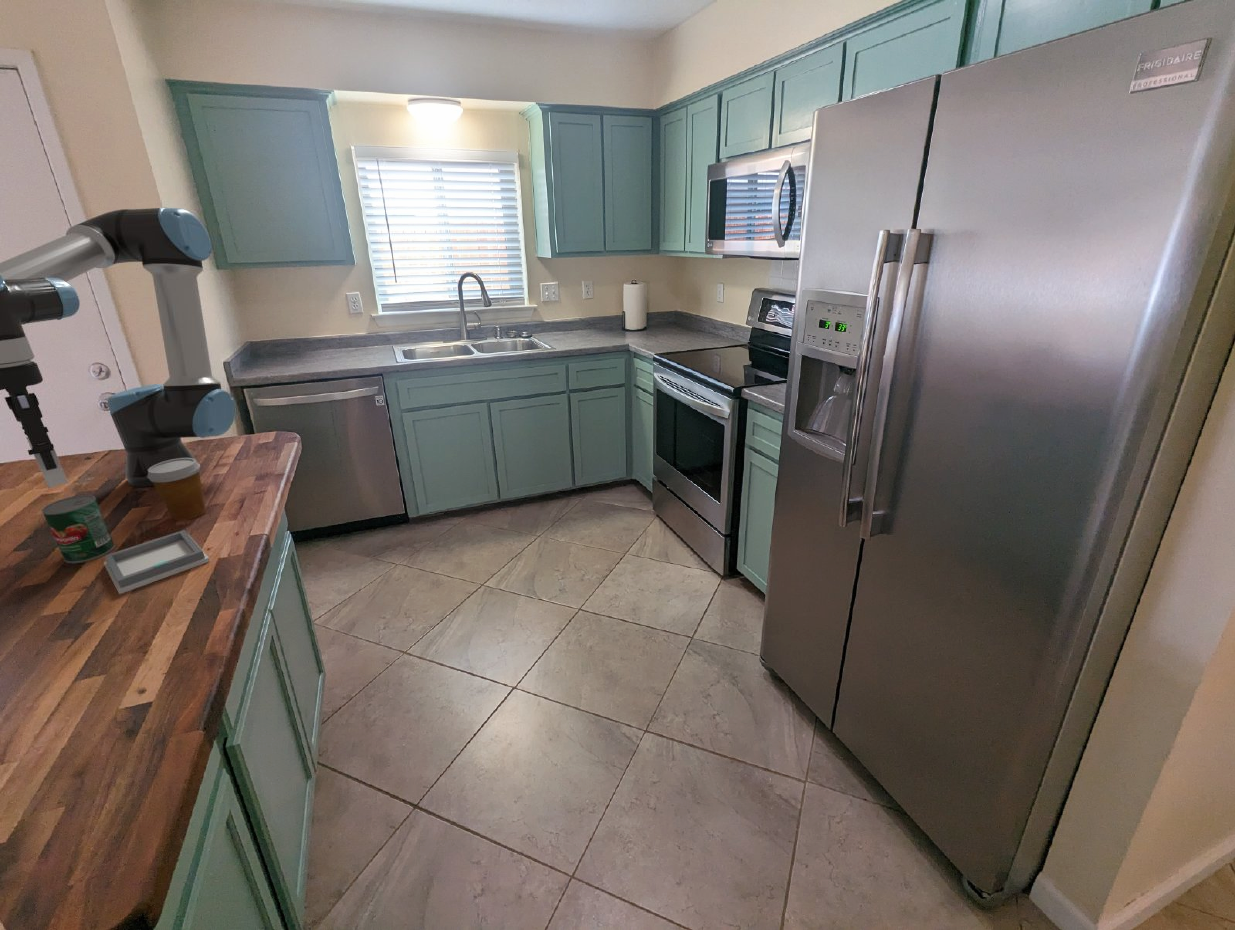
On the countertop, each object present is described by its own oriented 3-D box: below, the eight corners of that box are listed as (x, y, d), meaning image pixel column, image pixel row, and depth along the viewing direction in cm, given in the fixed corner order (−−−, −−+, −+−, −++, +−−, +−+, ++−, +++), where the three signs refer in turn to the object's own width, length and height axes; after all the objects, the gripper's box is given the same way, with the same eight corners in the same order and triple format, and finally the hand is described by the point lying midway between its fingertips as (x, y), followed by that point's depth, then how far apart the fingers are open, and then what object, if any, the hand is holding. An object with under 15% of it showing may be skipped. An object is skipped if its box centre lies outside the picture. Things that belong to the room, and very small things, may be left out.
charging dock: (104, 566, 112) (100, 555, 111) (190, 537, 122) (186, 527, 121) (119, 594, 103) (114, 582, 102) (210, 561, 113) (206, 550, 112)
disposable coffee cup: (189, 525, 127) (171, 475, 122) (152, 522, 128) (133, 472, 124) (224, 506, 135) (208, 457, 130) (190, 503, 137) (173, 455, 132)
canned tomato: (58, 567, 112) (34, 516, 108) (71, 549, 119) (49, 500, 114) (110, 556, 116) (88, 506, 111) (119, 539, 122) (99, 491, 118)
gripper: (-27, 359, 107) (20, 466, 115) (-21, 377, 92) (33, 500, 100) (28, 352, 113) (70, 455, 120) (43, 368, 97) (90, 486, 105)
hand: (53, 475), depth 110 cm, fingers open, 13 cm apart
